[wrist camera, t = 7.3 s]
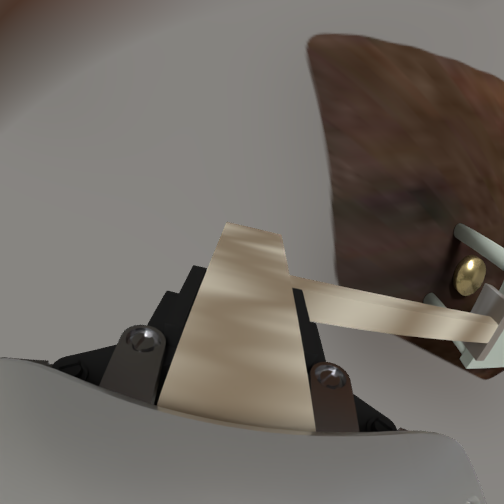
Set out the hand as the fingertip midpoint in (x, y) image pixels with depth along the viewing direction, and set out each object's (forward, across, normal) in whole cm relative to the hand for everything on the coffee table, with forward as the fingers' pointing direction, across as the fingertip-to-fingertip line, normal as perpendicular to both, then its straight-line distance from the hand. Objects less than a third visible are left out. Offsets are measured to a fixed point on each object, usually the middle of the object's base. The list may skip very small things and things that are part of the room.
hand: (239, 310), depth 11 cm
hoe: (+5, -9, 0) cm, 10 cm away
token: (+16, -28, 0) cm, 32 cm away
